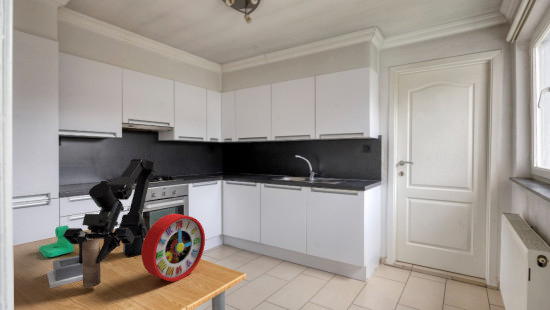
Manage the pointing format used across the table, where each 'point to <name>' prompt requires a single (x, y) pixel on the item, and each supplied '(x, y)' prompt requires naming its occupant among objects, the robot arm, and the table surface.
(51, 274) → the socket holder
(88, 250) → the walnut peg
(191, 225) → the toy clock
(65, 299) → the table surface
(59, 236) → the camera mount
